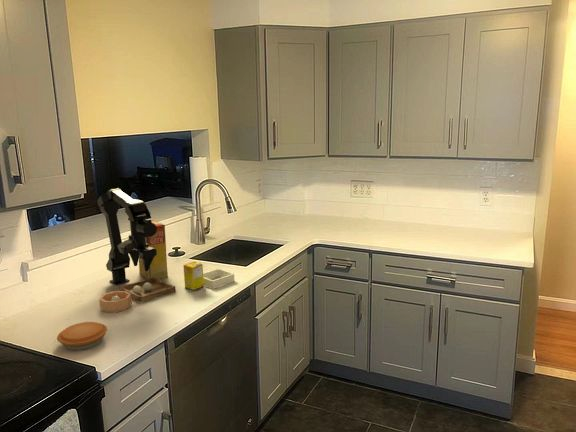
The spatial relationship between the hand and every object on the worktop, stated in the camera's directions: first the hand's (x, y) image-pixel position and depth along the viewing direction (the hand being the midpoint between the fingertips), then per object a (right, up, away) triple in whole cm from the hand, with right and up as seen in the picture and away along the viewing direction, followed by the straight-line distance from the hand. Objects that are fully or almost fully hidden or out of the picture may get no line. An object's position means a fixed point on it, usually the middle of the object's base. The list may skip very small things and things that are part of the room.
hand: (141, 268), depth 197 cm
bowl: (-7, -14, -10) cm, 18 cm away
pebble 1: (-7, -11, -10) cm, 17 cm away
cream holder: (+29, -8, +16) cm, 34 cm away
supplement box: (+20, -10, +9) cm, 24 cm away
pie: (-7, -21, -38) cm, 44 cm away
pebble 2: (-2, -9, +1) cm, 9 cm away
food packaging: (-2, -6, +25) cm, 26 cm away
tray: (+1, -11, +5) cm, 12 cm away
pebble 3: (+1, -8, +4) cm, 9 cm away
